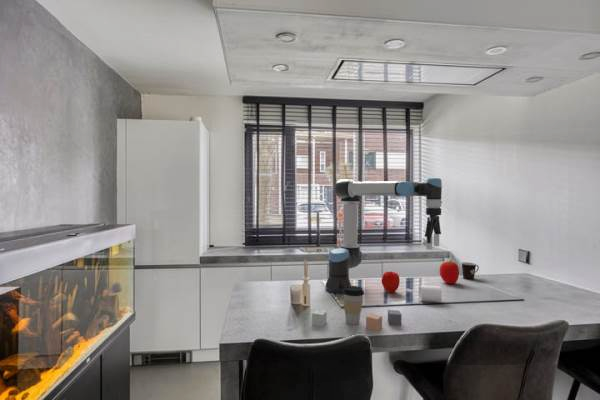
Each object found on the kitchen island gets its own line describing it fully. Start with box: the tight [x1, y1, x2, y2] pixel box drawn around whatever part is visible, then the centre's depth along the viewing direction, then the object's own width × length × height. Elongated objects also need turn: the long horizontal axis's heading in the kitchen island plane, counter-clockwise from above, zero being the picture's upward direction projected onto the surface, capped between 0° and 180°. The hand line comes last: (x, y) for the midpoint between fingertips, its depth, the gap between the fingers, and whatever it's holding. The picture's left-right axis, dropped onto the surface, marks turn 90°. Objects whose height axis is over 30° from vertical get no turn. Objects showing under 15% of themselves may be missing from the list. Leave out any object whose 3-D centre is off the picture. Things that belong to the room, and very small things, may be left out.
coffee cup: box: [341, 285, 365, 326], centre depth 151 cm, size 9×9×15 cm
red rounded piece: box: [381, 271, 401, 294], centre depth 197 cm, size 10×10×12 cm
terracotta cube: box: [365, 313, 383, 332], centre depth 145 cm, size 5×5×5 cm
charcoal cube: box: [387, 309, 402, 327], centre depth 150 cm, size 5×5×5 cm
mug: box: [418, 285, 443, 303], centre depth 183 cm, size 12×10×8 cm
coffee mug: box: [461, 262, 480, 281], centre depth 230 cm, size 12×9×10 cm
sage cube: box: [311, 309, 327, 327], centre depth 149 cm, size 5×5×5 cm
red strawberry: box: [439, 260, 460, 285], centre depth 218 cm, size 13×11×14 cm
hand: (432, 247), depth 182 cm, fingers open, 13 cm apart
